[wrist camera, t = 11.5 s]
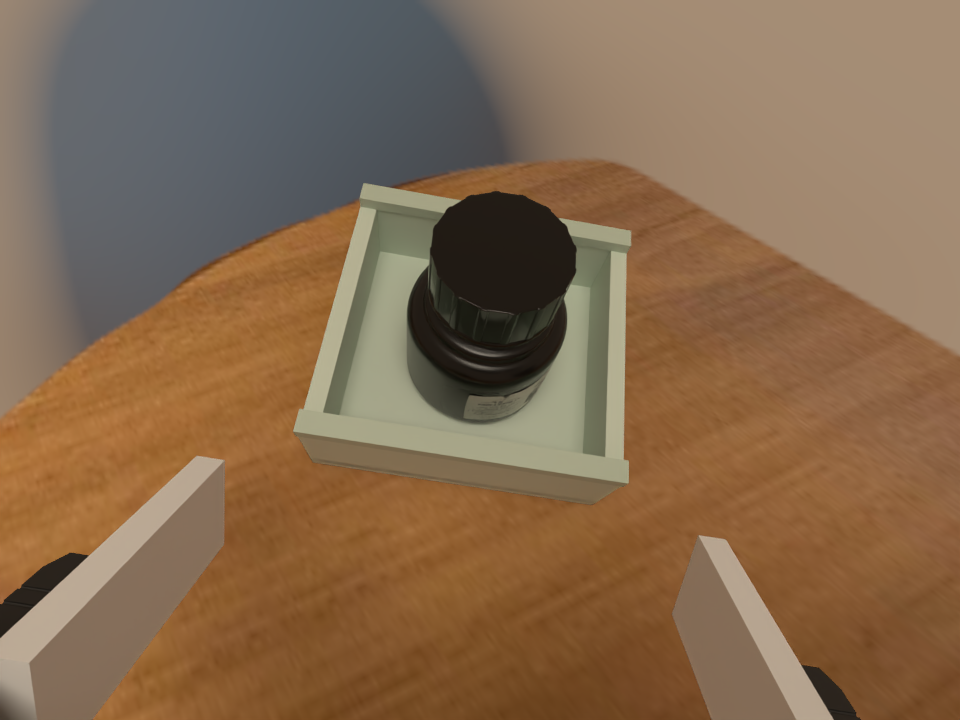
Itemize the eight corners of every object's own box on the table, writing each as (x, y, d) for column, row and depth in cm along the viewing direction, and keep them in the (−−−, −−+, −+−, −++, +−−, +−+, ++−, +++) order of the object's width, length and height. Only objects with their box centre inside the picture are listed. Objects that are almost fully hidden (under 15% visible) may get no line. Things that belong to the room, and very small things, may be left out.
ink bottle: (492, 459, 34) (532, 381, 23) (374, 379, 35) (359, 270, 24) (570, 343, 38) (635, 230, 27) (462, 275, 39) (482, 141, 28)
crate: (600, 284, 41) (630, 231, 36) (591, 506, 34) (628, 483, 28) (370, 245, 40) (363, 183, 35) (312, 463, 33) (293, 431, 28)
